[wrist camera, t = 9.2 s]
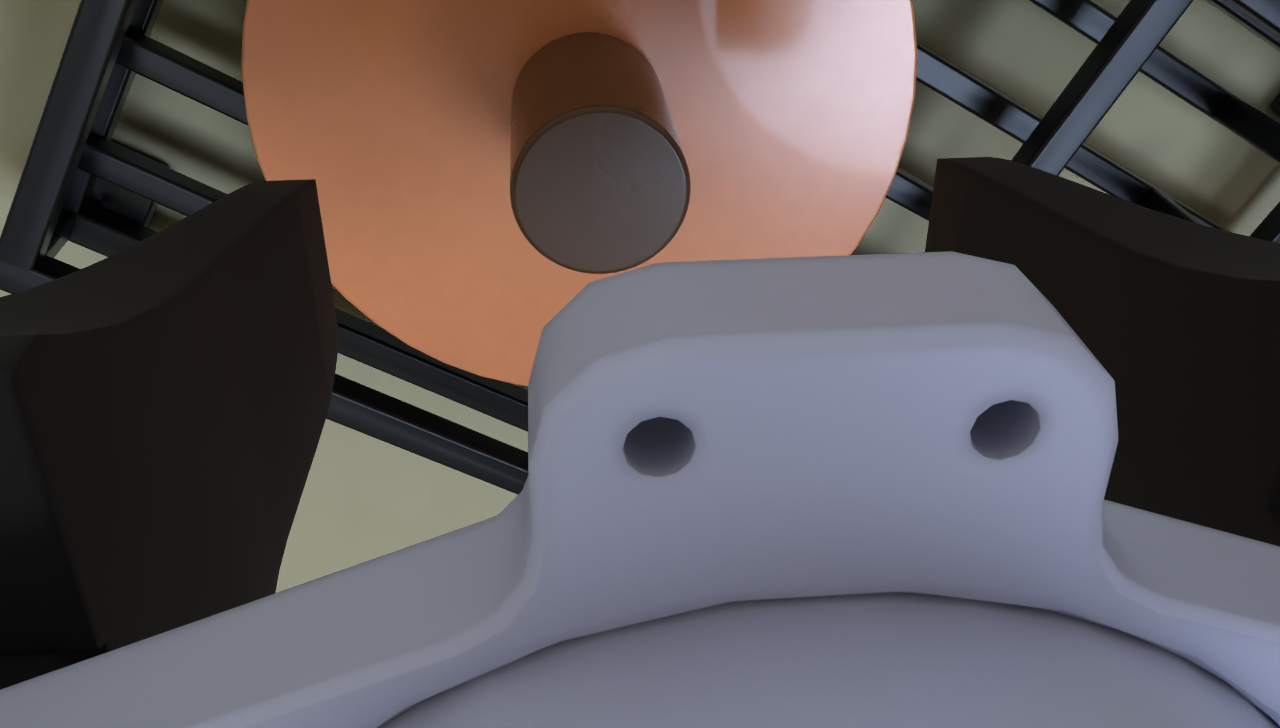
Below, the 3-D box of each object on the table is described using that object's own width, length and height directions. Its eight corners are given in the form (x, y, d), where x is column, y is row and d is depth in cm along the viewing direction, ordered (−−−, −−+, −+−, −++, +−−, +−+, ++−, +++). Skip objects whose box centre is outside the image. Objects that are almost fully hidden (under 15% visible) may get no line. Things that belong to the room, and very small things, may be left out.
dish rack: (1382, 76, 23) (1656, 207, 17) (946, 578, 28) (1048, 797, 23) (362, -645, 16) (280, -806, 11) (58, 200, 22) (-98, 381, 16)
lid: (1027, -45, 19) (1163, 33, 15) (691, 440, 23) (727, 601, 19) (425, -443, 16) (393, -480, 12) (161, 209, 20) (70, 347, 16)
